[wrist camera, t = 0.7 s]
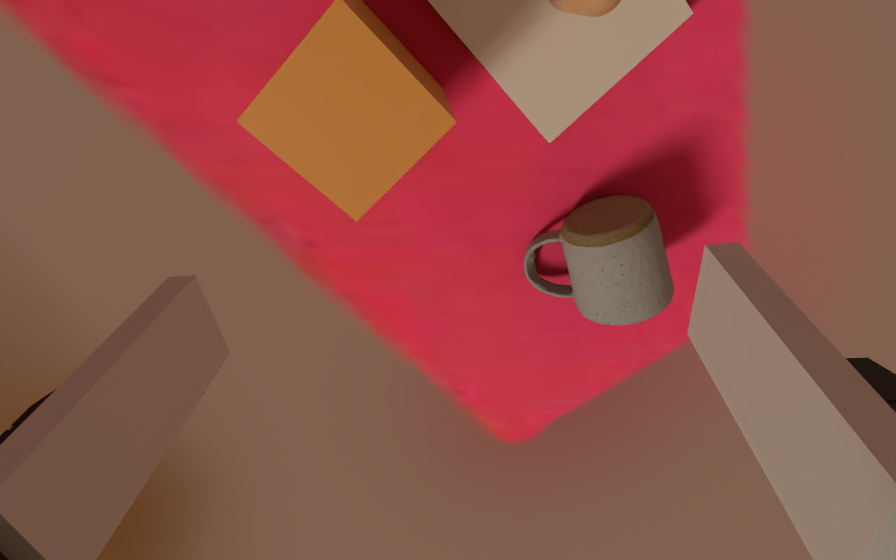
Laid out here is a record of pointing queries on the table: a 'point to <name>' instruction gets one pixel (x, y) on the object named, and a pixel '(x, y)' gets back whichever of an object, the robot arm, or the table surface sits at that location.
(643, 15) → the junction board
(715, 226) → the table surface
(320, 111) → the tall orange block
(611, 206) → the ceramic mug
